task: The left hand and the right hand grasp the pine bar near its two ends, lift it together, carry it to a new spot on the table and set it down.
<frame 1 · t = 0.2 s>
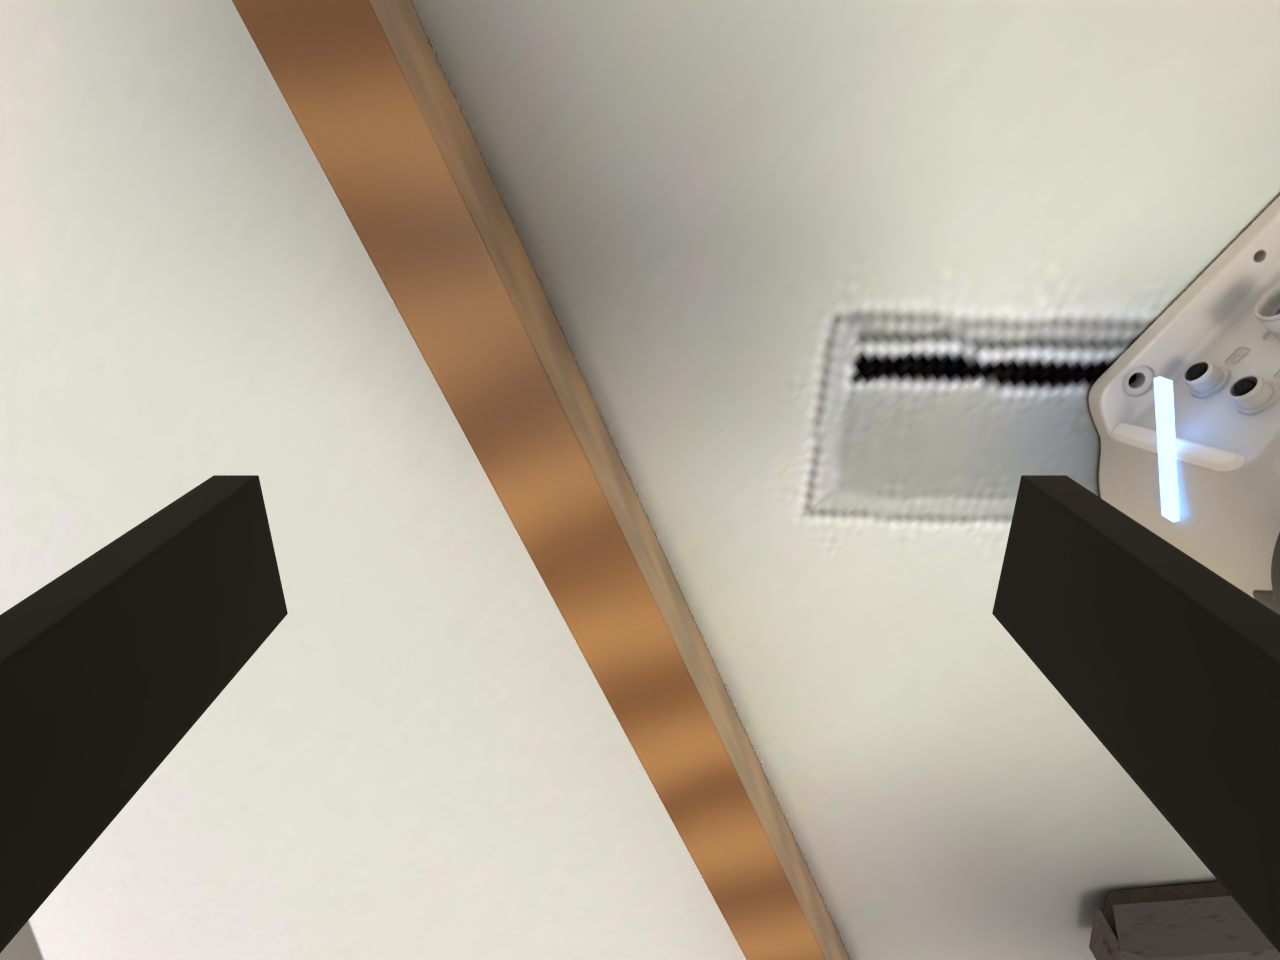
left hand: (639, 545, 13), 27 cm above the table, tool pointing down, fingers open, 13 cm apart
bar: (649, 608, 45), on the table
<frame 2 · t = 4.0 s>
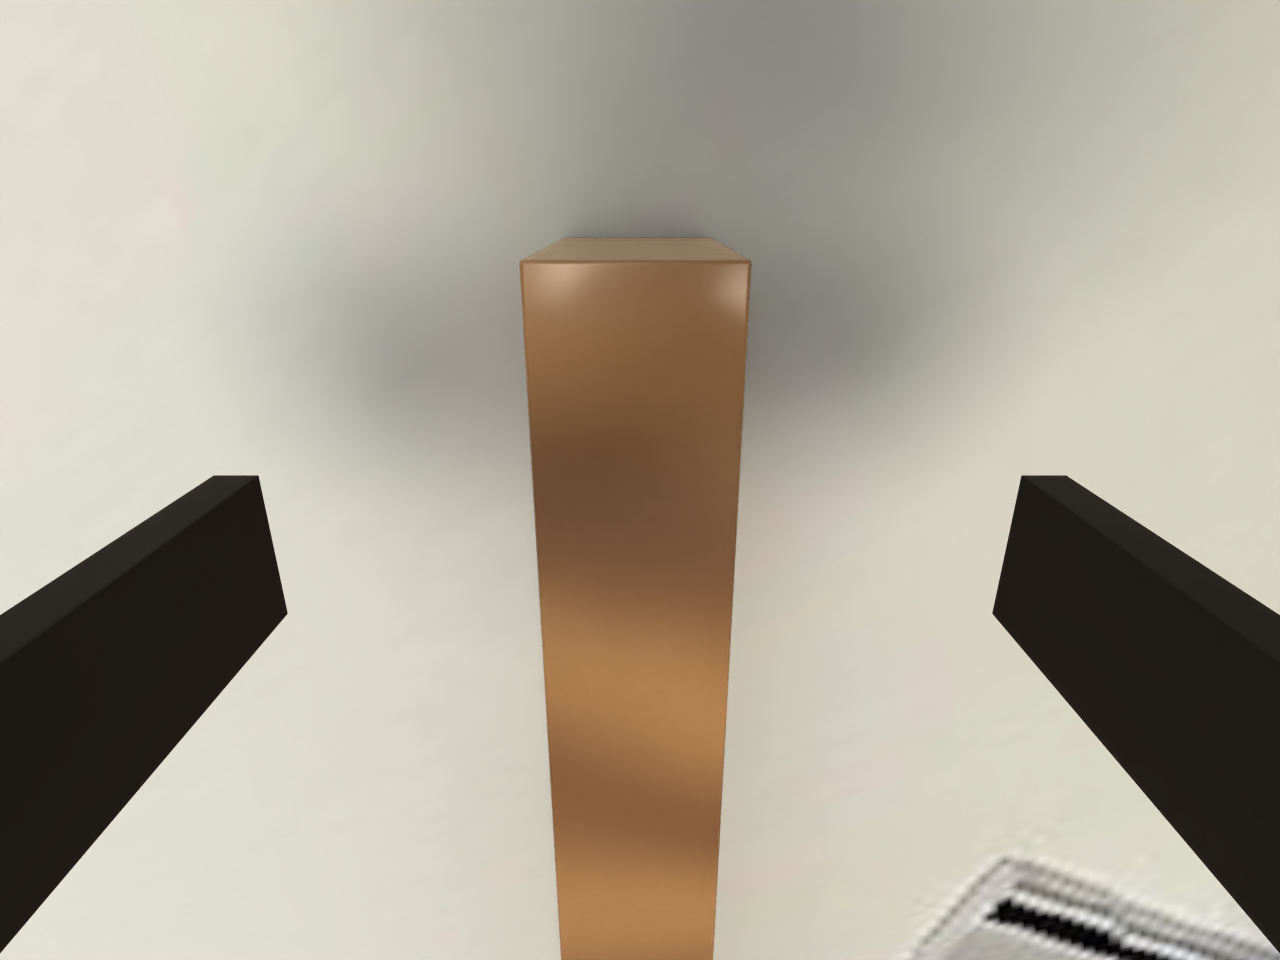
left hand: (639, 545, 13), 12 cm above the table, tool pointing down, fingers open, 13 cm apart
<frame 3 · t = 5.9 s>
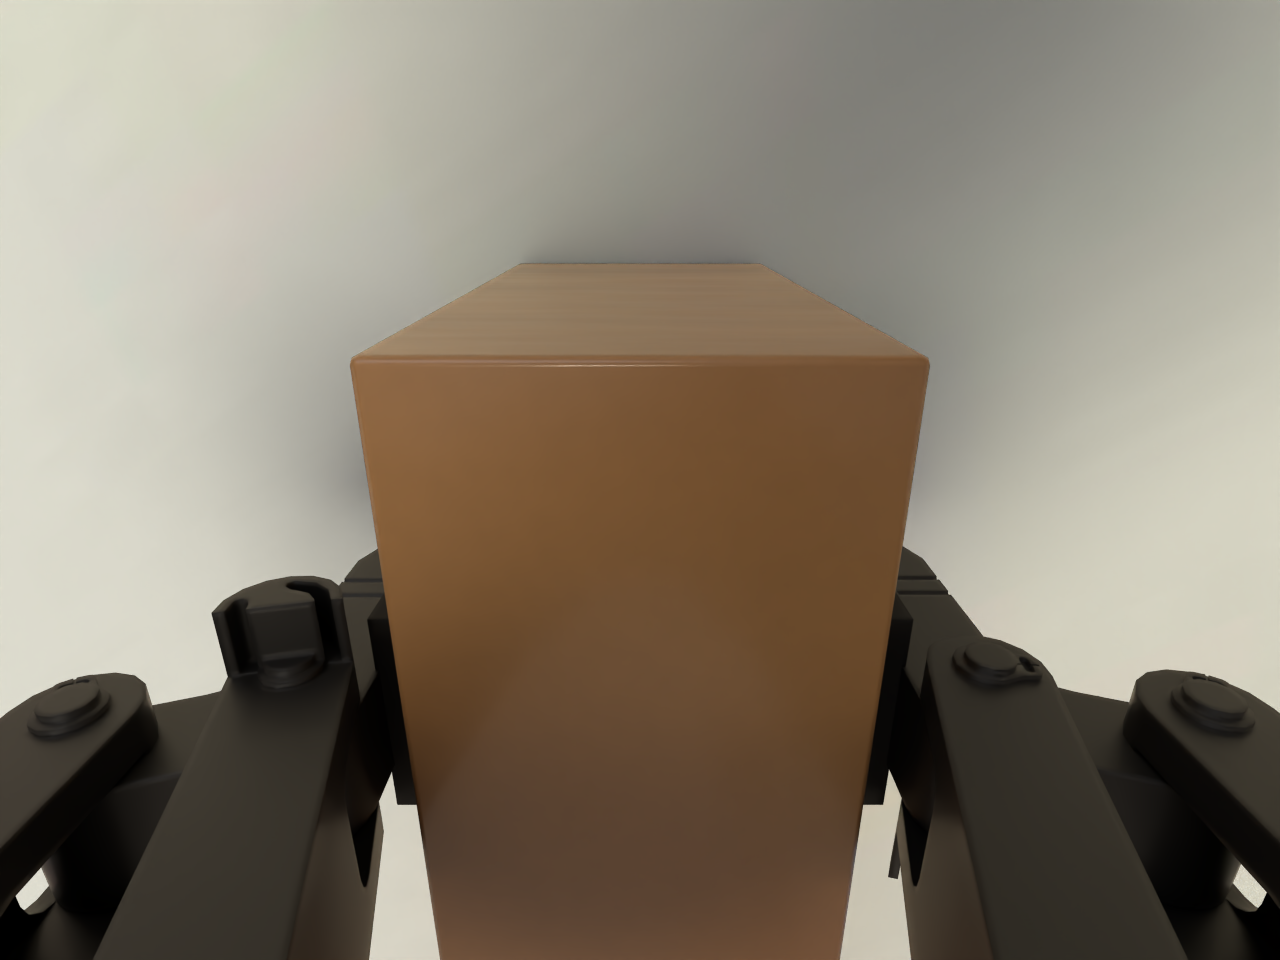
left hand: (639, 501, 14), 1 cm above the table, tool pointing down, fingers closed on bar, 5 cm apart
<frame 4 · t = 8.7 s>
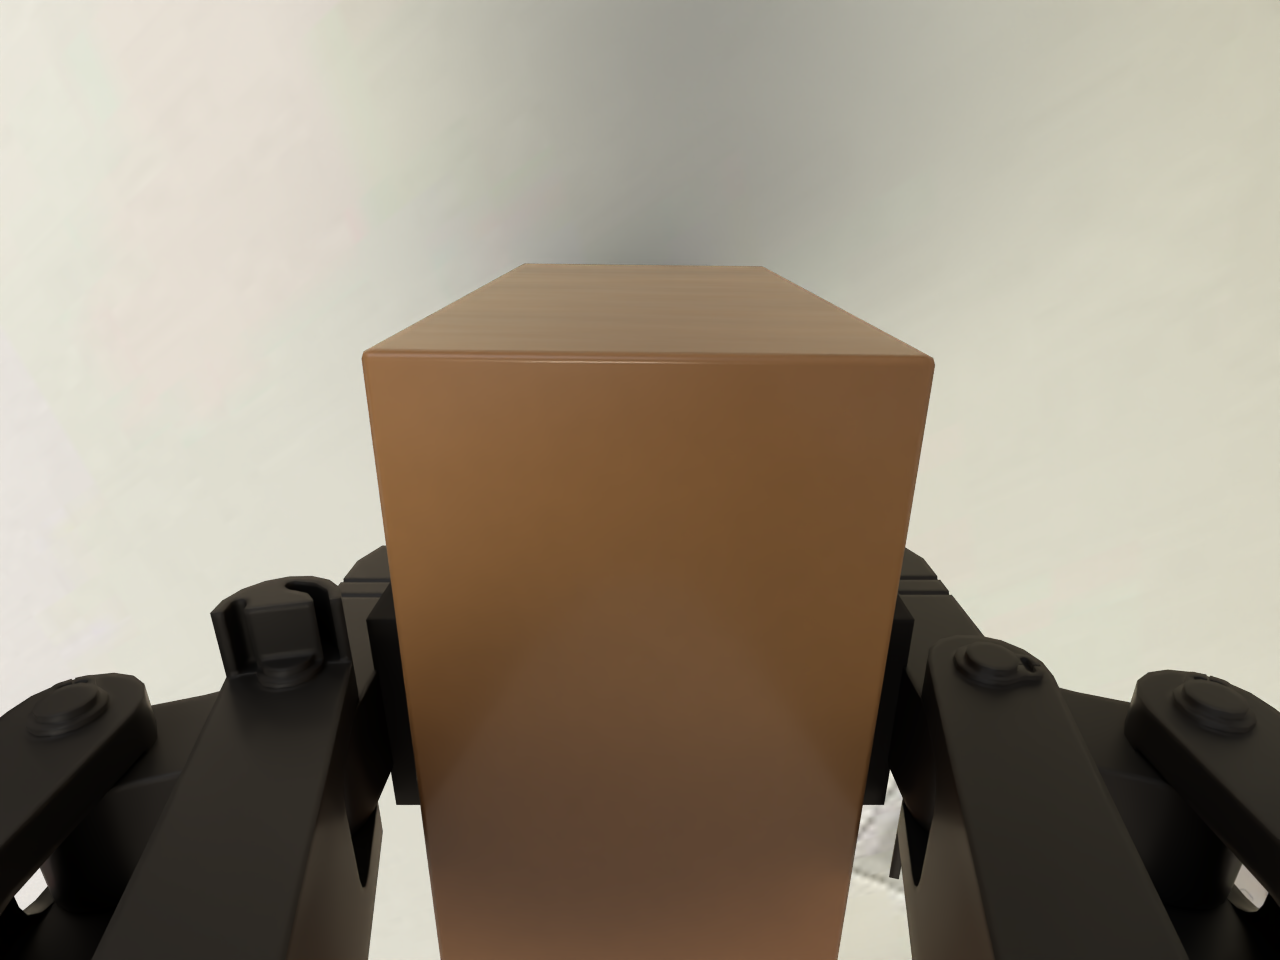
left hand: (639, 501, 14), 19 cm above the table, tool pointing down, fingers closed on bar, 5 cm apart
when the left hand's fingers open (2 cm above the table, at t = 13.6 s): bar drops 1 cm, on the table.
when the right hand's fingers open (5 cm above the table, at t = 13.8 s): bar stays where it is, on the table.
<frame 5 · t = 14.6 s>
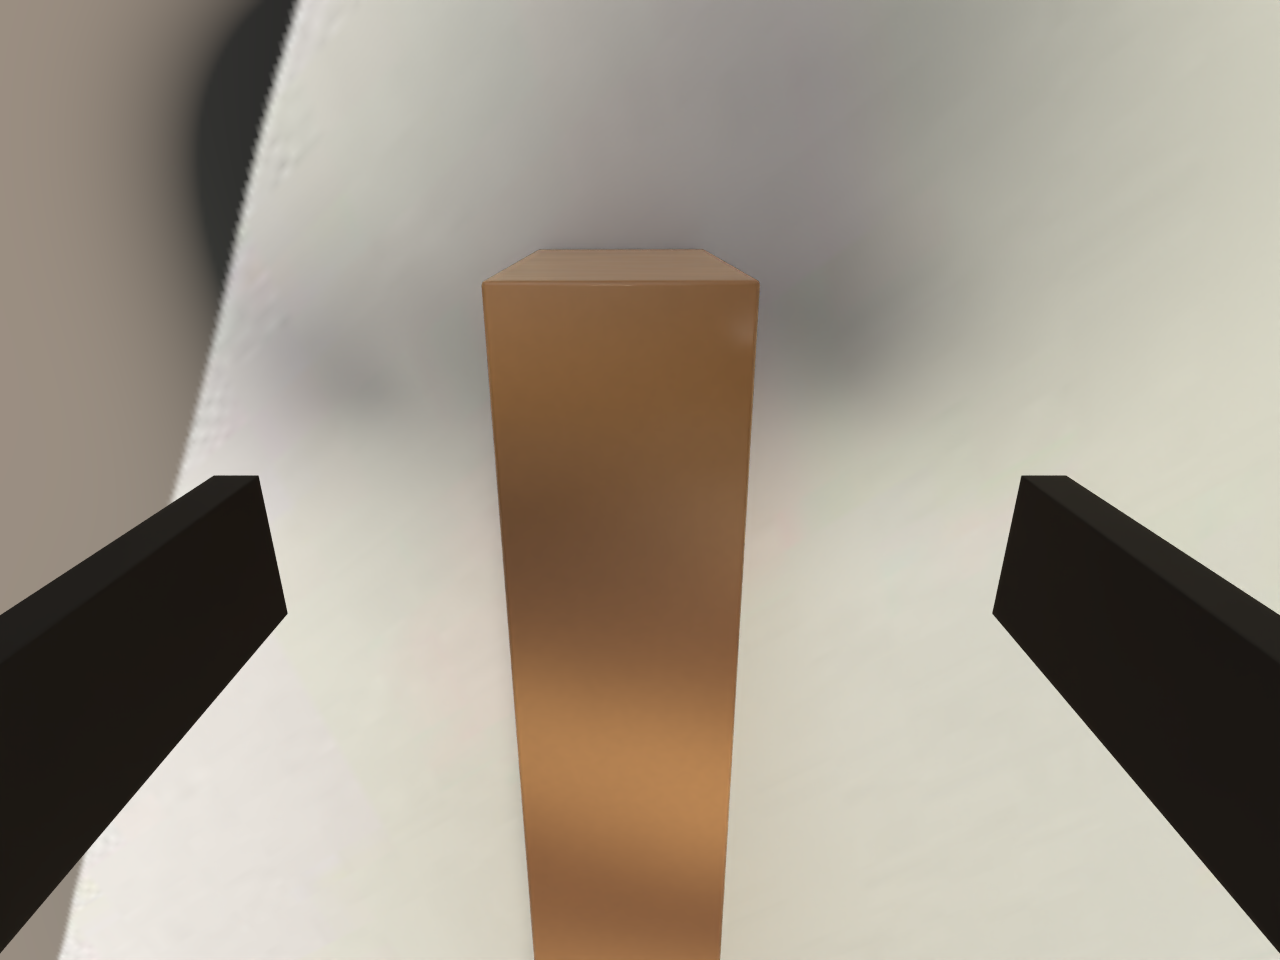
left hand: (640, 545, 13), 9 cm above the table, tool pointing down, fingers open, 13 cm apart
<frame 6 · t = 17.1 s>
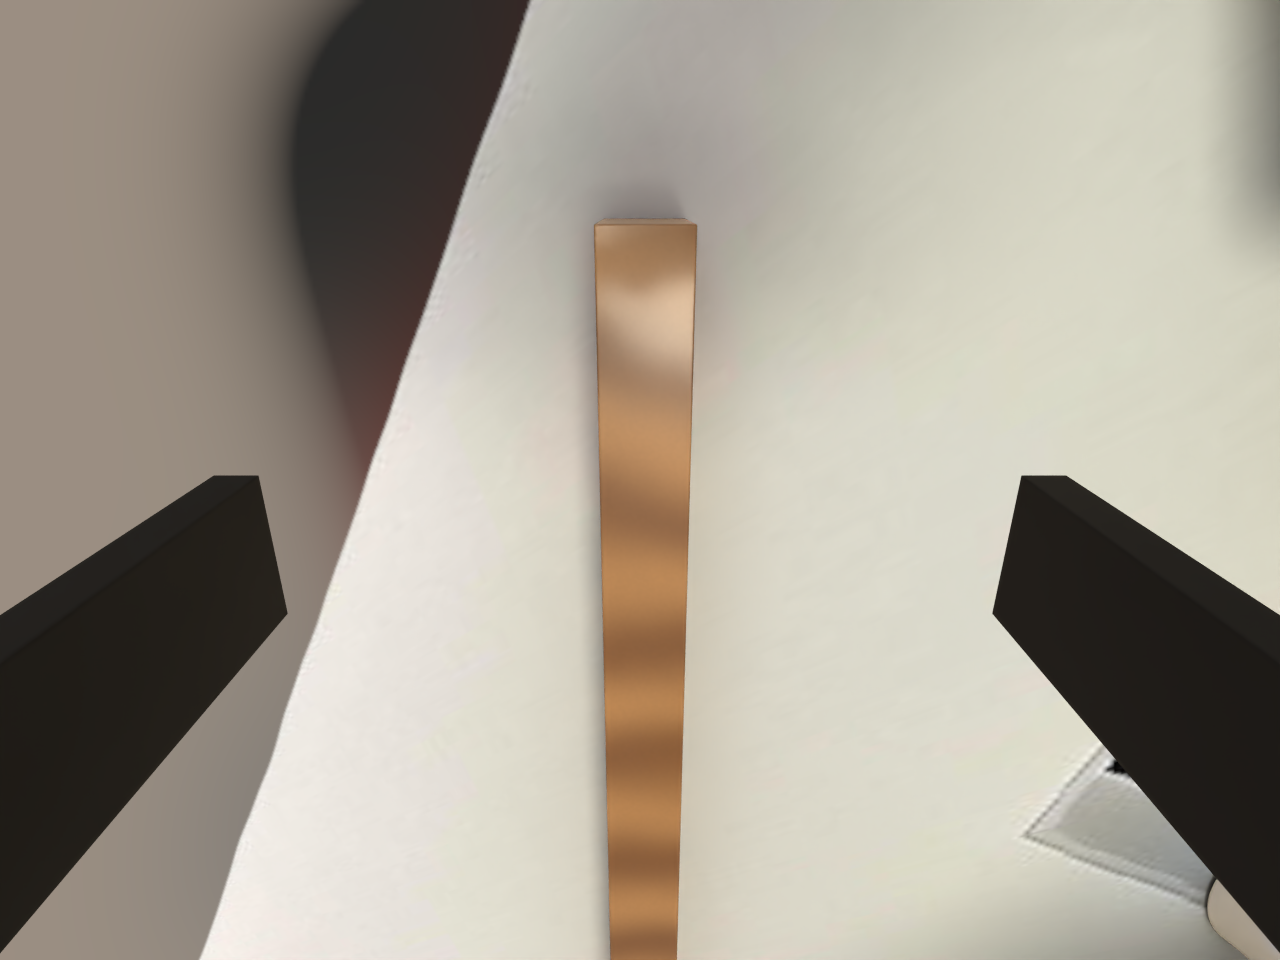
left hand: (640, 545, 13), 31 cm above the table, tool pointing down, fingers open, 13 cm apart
bar: (643, 766, 54), on the table
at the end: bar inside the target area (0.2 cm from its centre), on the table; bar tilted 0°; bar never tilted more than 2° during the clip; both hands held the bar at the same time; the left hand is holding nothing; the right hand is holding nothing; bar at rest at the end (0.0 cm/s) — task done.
